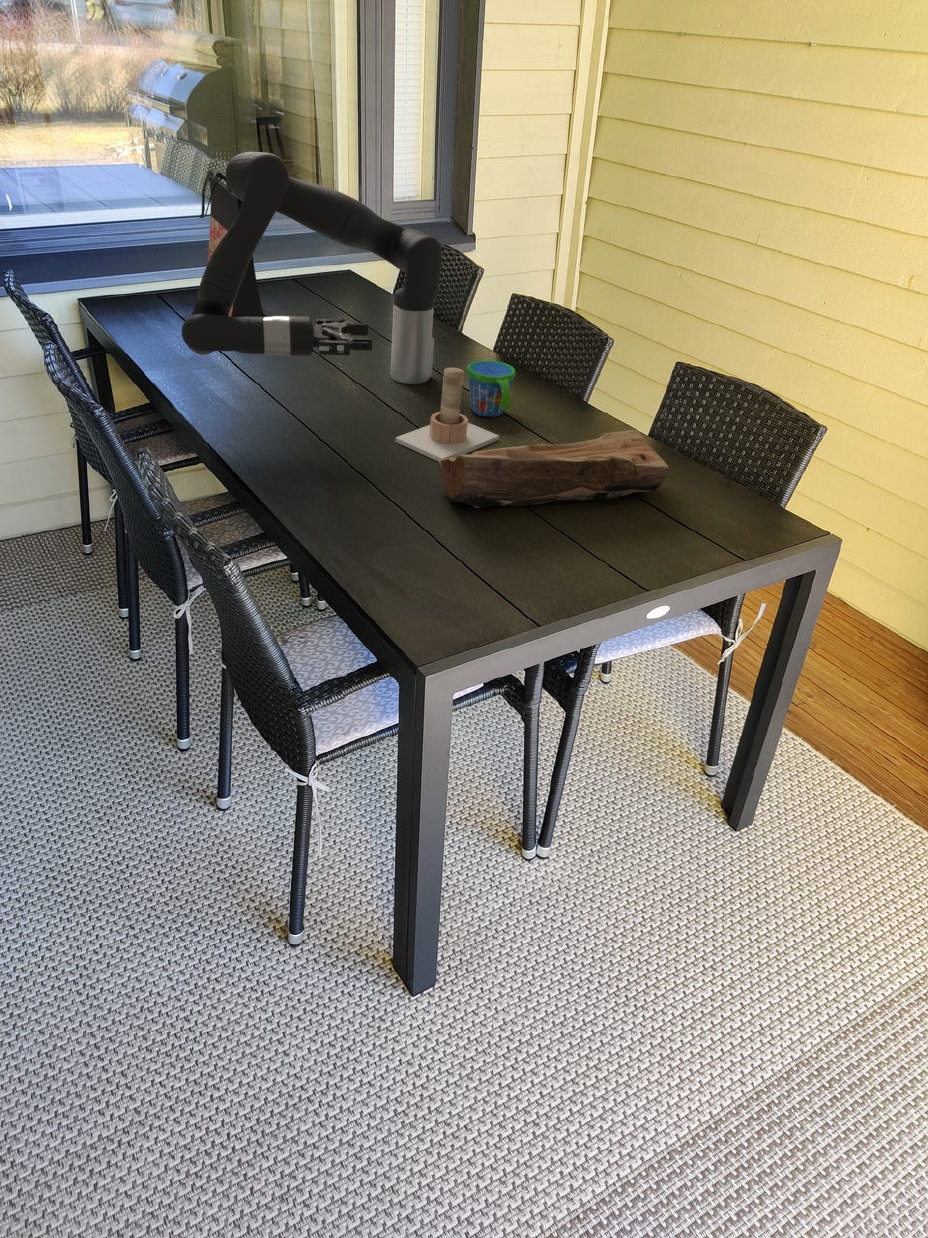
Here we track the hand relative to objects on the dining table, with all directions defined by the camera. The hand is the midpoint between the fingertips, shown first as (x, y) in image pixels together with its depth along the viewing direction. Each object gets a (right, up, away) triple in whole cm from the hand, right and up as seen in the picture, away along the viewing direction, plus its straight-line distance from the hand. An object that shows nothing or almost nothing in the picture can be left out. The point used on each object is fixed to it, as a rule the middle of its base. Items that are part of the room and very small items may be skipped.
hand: (370, 336), depth 196 cm
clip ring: (+15, -18, +9) cm, 26 cm away
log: (+35, -33, -6) cm, 48 cm away
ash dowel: (+15, -18, +9) cm, 26 cm away
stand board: (+15, -19, +10) cm, 26 cm away
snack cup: (+24, -10, +25) cm, 36 cm away
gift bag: (-43, +24, +65) cm, 82 cm away
